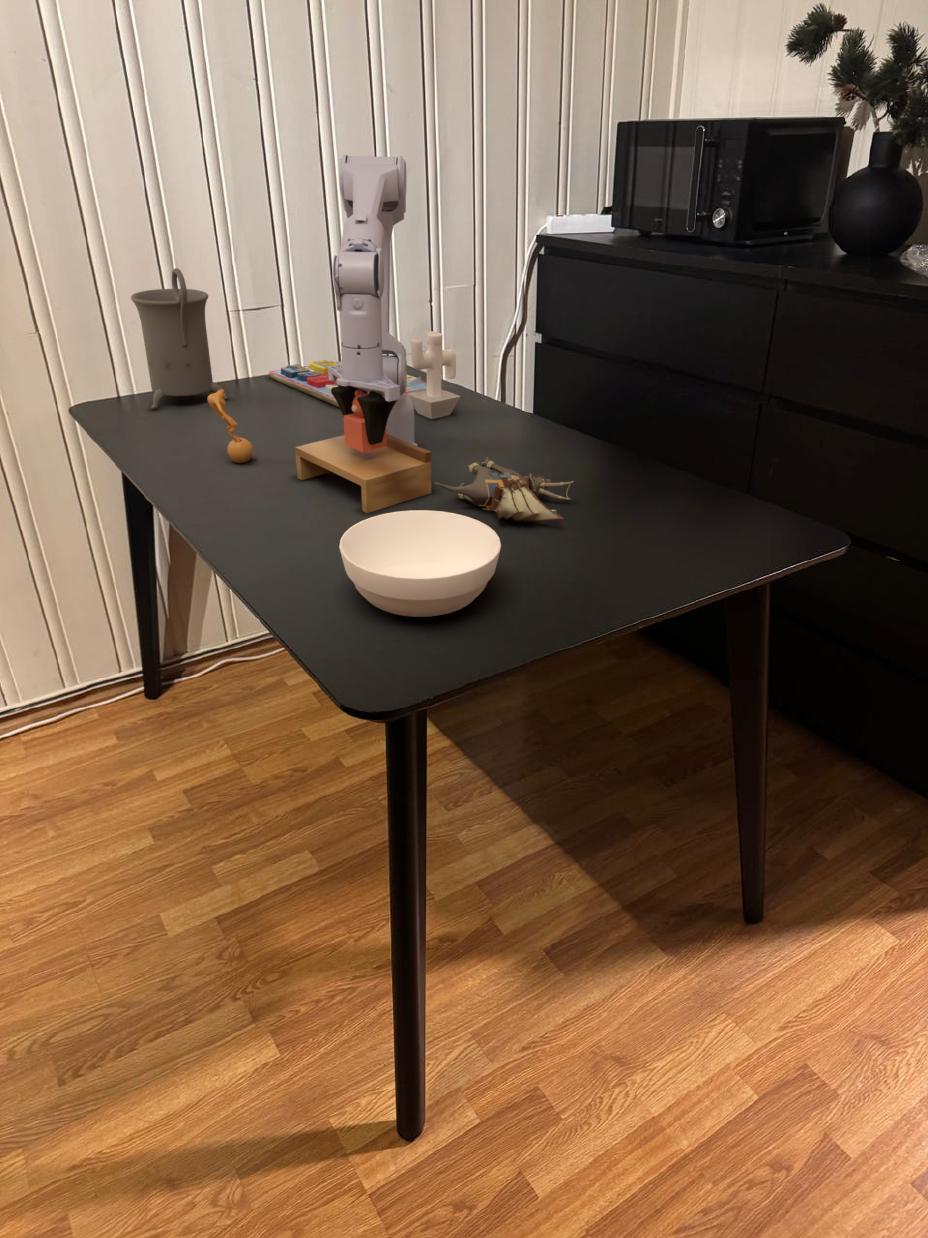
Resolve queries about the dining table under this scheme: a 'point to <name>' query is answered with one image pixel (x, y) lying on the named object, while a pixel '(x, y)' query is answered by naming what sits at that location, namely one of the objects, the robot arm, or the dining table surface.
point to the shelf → (371, 469)
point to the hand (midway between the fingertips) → (365, 438)
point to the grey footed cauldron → (175, 340)
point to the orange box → (358, 428)
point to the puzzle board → (325, 380)
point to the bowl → (420, 561)
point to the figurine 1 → (231, 430)
